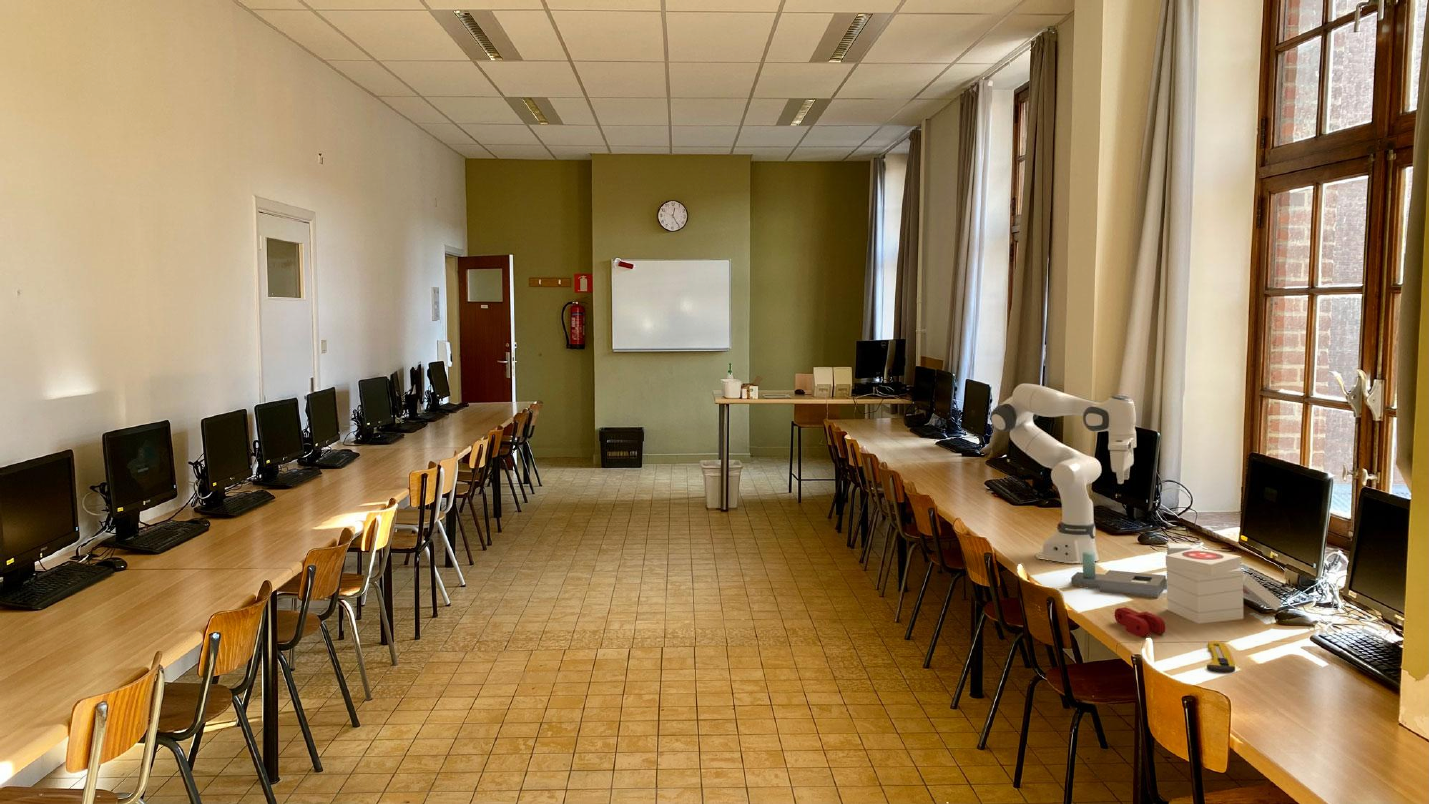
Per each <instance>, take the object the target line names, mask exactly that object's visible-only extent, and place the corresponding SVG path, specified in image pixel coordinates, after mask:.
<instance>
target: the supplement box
mask: <svg viewBox="0 0 1429 804" xmlns="http://www.w3.org/2000/svg"><path fill="white" fill-rule="evenodd" d="M1190 549H1194V548H1193V546H1192V545H1190V543H1186V542H1185V543H1178V542H1177V543H1176V542H1175V543H1174V542H1173V543H1172V542H1171V543H1170V542H1169V543H1166V555H1170V554H1174V553H1178V552H1182V551H1186V550H1190Z"/></svg>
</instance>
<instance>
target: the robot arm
mask: <svg viewBox="0 0 1429 804" xmlns="http://www.w3.org/2000/svg"><path fill="white" fill-rule="evenodd" d="M1075 415H1076V416H1082V423H1083V425H1084V427H1085V428H1086V429H1087V430H1088V431H1091V432H1095V433H1099V432H1101V433H1102V432H1108V444H1107V449H1108V451H1109V455H1110V469H1111V471H1112V472H1113V473H1115V474H1116V479H1117V484H1119V485H1122V484H1124V481H1125V480H1129V478H1130V471H1131V470H1130V469H1131V467H1132V466H1133V465H1134V461H1135V459H1134V458H1135V457H1134V449H1135V448H1137V431H1136V427H1135V426H1136V423H1137V415H1136V406H1135V403H1134V400H1133V399H1132V398H1131V397H1129V396H1124V395H1112V396H1110V397H1109V398H1108V399H1106V400H1105V401H1103V402H1100V401H1095V400H1091V399H1088V398H1087V399H1086V398H1082V397H1078V396H1075V395H1073V394H1068V393H1066V392H1062V391H1059V390H1056V389H1054V388H1050V387H1048V386H1044V385H1040V384H1036V383H1035V384H1033V383H1020V384H1018V385H1017V386H1016V387H1015V388H1014V389H1013V391H1012V395H1011V396H1009V397H1008V398H1006V399H1005V401H1003V402H1002V403H1000V404H999V405H997V406H996V407H994V408H993V410H992V411H991V413H990V418H989V419H990V422H991V425H992V426H993V427H994V428H995V429H996V430H998V431H999V432H1002V433H1007V432H1009V438H1010V440H1011V441H1012V442H1013V443H1014V445H1015V446H1016V447H1017V448H1018V449H1020V450H1021V451H1022V452H1024V453H1025V454H1026V455H1027V456H1029V457H1030V458H1031V459H1033V460H1034V461H1036V462H1037V463H1038V464H1040V465H1041V466H1043V467H1045V468H1049V469H1050V470H1051V473H1050V477H1051V480H1052V483H1053V484H1054V485H1055V487H1056V488H1057V490H1058V493H1059V496H1060V502H1061V511H1062V513H1061V514H1062V520H1059V522H1058V523H1057V525H1056V529H1057V531H1056V532H1055V533H1053V534H1052V535H1050V536H1049V537H1048V538H1047V539H1045V540H1044V541H1043V545H1042V550H1041V551H1039V552H1038V553H1037V554H1036V556H1037V557H1038V558H1044V559H1048V560H1052V561H1060V562H1065V563H1064V564H1066V563H1080V564H1083V554H1082V553H1084V552H1092V553H1095V561H1096V562H1098V561H1099V560H1100V558H1099V554H1098V551H1097V546H1096V524H1095V521H1094V503H1093V501H1092V499H1090V496H1089V493H1088V490H1087V489H1088V488H1087V485H1089V484H1091V483H1092V484H1093V482H1095V481H1096V480H1097V479H1098V478H1099V477H1100V476H1101V474H1102V465H1101V462H1100V461H1099V460H1098V459H1097V458H1096V457H1094V456H1091V455H1087V454H1084V453H1082V452H1080V451H1079V450H1076V449H1074V448H1072V447H1069V446H1067V445H1066V444H1064V443H1062V442H1060V441H1058V440H1057V439H1055V437H1052V435H1050V434H1048V433H1047V432H1045V431H1044V430H1042V429H1041V428H1040V427H1038V426H1037V425H1036V424H1035V422H1034V421H1035V420H1037V419H1038V417H1039V416H1041V417H1049V418H1057V417H1062V416H1075ZM1052 561H1051V562H1052Z"/></svg>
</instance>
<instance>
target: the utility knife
mask: <svg viewBox="0 0 1429 804" xmlns="http://www.w3.org/2000/svg"><path fill="white" fill-rule="evenodd" d="M1207 645H1208V647H1207V650H1208V652H1210V653H1211V655H1212V658H1213V659H1212V660H1211V661H1210V662H1208V663H1206V669H1207V670H1208V671H1211V672H1214V673H1219V674H1220V673H1222V674H1227V673H1233V672H1234V671H1235V670H1236V663H1235V661H1234V660H1235V659H1234V658H1233V656H1232V653H1231V651H1230V649H1229V648H1228V646H1227V645H1226V643H1225V642H1223V641H1217V640H1211V641H1208V642H1207Z"/></svg>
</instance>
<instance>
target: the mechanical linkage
mask: <svg viewBox="0 0 1429 804" xmlns="http://www.w3.org/2000/svg"><path fill="white" fill-rule="evenodd" d="M1114 619H1115V621H1116V623H1117V624H1118V625H1121V626H1124V628H1125V631H1126V632H1127V633H1130V634H1132V635H1135V636H1137V637H1139V638H1144V637H1148V636H1149V635H1150V633H1152V634H1154V635H1156V636H1158V635H1163V634H1164V633H1165V631H1166V623H1165V621H1164V620H1163V618H1162V617H1160V616H1158V615H1155V614H1153V613H1150V612H1148V611H1142V612H1138V611H1136V610H1134V609H1130V608H1128V607H1126V606H1125V607H1119V608H1116V609H1115V610H1114Z"/></svg>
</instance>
